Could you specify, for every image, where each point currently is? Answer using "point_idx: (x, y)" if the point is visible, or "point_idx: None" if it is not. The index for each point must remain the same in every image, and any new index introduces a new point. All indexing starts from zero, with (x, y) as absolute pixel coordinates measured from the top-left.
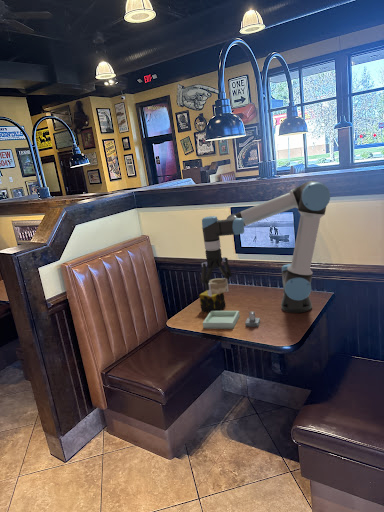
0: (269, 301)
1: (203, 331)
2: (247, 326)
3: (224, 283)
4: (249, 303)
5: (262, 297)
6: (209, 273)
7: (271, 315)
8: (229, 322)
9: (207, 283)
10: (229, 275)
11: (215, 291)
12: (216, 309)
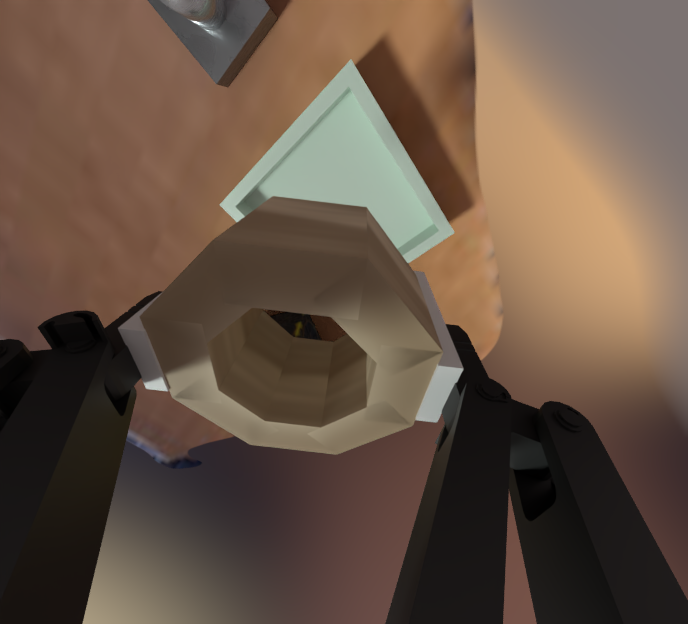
0: (27, 226)
1: (473, 191)
2: (268, 4)
3: (232, 231)
4: (131, 281)
5: (53, 288)
6: (494, 621)
7: (56, 33)
8: (359, 90)
9: (494, 384)
10: (19, 361)
11: (394, 253)
12: (293, 318)
